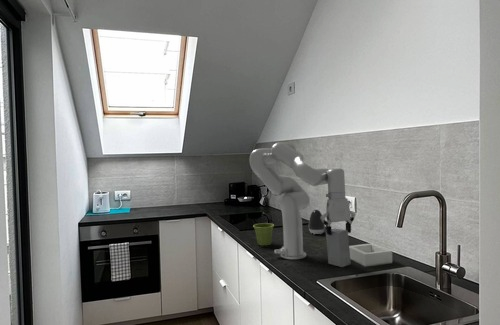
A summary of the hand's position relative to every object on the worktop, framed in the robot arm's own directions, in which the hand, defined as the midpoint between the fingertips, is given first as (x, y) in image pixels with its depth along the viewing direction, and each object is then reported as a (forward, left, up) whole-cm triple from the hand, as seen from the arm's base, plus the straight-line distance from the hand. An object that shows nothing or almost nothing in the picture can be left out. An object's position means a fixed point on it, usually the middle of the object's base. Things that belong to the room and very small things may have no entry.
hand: (338, 233), depth 159 cm
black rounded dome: (+18, +59, -14) cm, 63 cm away
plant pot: (-21, +46, -14) cm, 53 cm away
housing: (+16, +1, -14) cm, 21 cm away
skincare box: (0, +1, -14) cm, 14 cm away
